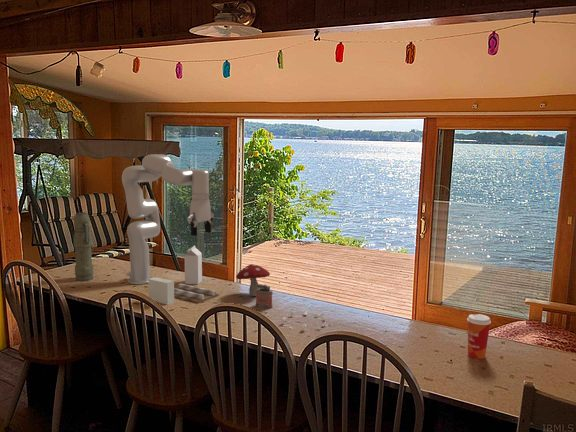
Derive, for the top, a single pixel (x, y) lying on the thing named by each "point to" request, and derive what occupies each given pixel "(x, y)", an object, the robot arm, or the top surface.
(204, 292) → the track board
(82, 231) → the moai statue
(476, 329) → the paper cup
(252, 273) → the decorative mushroom
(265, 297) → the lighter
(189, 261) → the milk carton
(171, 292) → the door panel
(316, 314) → the game piece set
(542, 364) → the top surface
